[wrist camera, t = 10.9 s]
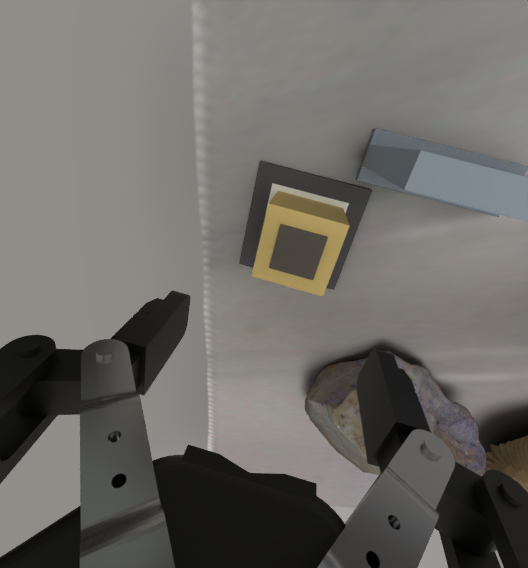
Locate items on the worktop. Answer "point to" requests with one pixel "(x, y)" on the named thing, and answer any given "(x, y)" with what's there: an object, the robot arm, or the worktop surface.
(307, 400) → the stone
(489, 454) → the fossil
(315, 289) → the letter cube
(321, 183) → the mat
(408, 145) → the screen
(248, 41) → the worktop surface
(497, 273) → the worktop surface
